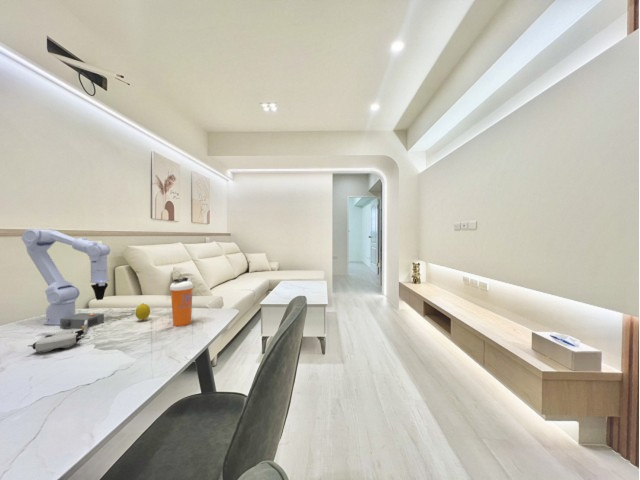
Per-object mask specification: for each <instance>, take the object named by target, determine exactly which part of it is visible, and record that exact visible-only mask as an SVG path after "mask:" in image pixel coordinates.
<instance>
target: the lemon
mask: <svg viewBox="0 0 640 480" xmlns="http://www.w3.org/2000/svg"><path fill="white" fill-rule="evenodd" d="M150 308H151V307H150V306H149V305H148V304H145V303H140V304H139V305H138V306H136V309H135V317H136V318H137V319H138V320H141V321H142V322H143V321H145V320H146V319H148V317H149V316H150V315H151V309H150Z"/></svg>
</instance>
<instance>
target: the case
mask: <svg viewBox="0 0 640 480" xmlns="http://www.w3.org/2000/svg"><path fill="white" fill-rule="evenodd" d="M104 318H105V317H104V313H95V312H93V313H91V312H90V313H87V312H86V313H85V312H83V313H82V312H80V313H75V315H72V316H69V317H65V318H62V319H60V325H59V328H60V329H67V330H72V329H73V330H82V326H84V323H85V320H86V319H88V329H89V328H92V327H94V326H95V327H96V326H97V325H101V324H103V323H104V320H105V319H104Z"/></svg>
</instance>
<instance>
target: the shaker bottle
mask: <svg viewBox="0 0 640 480" xmlns="http://www.w3.org/2000/svg"><path fill="white" fill-rule="evenodd" d="M172 281H173V282H172V283H171V284H170V286H169V290H170V296H171V297H170V299H171V311H172V313H171V314H172V323H173V326H174V327H182V326H183V327H184V326H187V325H189V324H191V323H192V315H193V314H192V312H193V311H192V310H193V309H192V308H193V289H194V283H193V282H192V278H190V277H182V278H174V279H172Z"/></svg>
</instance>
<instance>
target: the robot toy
mask: <svg viewBox="0 0 640 480" xmlns="http://www.w3.org/2000/svg"><path fill="white" fill-rule="evenodd" d="M85 332H86V330H84V331H83V330H82V329H78V330H76V331H75V332H74V331H73V330H72V329H66V330H61V331H56V332H55V333H54V334H53V335H52V334H49V335H45V336H44V337H43V338H40V339H38V340H37V341H36V342H34V343H33V344H28V345H27V347H28V348H29V347H32V349H33V350H35V351H39V352H43V353H49V352H51V351H52V350H54V349H55V350H56V349H60V348H62V349H68V348H71V347H72V346H73V345H75V344H76V343H77V342H80V340H81V339H82V338H83V335H84V333H85Z"/></svg>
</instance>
